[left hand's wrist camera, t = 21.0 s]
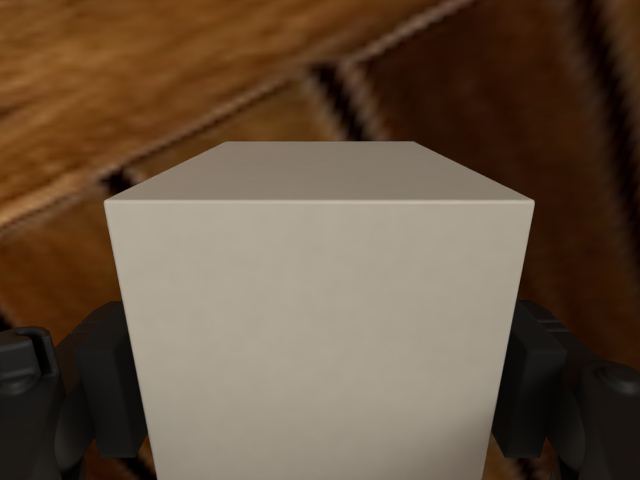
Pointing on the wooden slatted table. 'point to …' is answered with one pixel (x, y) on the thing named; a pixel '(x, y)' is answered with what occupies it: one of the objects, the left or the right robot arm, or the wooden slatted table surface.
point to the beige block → (319, 310)
